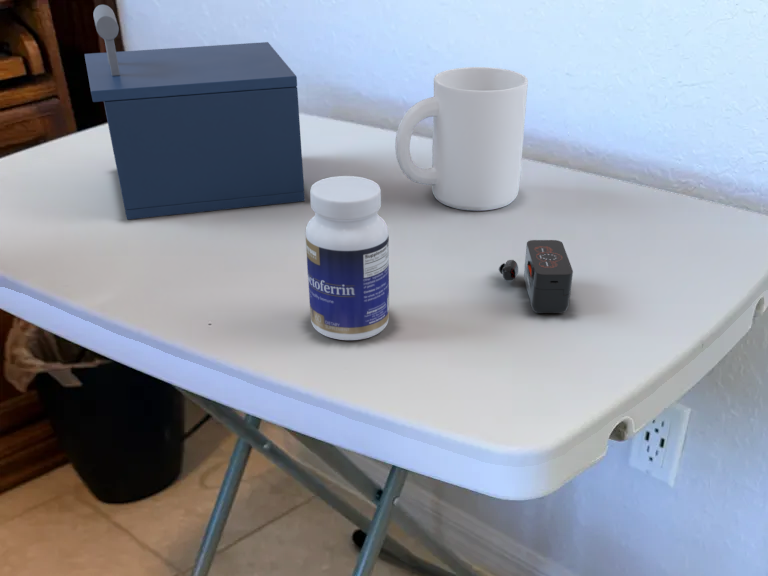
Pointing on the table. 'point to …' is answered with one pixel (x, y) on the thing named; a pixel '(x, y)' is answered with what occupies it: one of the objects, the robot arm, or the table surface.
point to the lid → (180, 68)
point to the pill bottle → (347, 259)
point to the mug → (470, 137)
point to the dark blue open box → (207, 151)
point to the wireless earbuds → (544, 275)
